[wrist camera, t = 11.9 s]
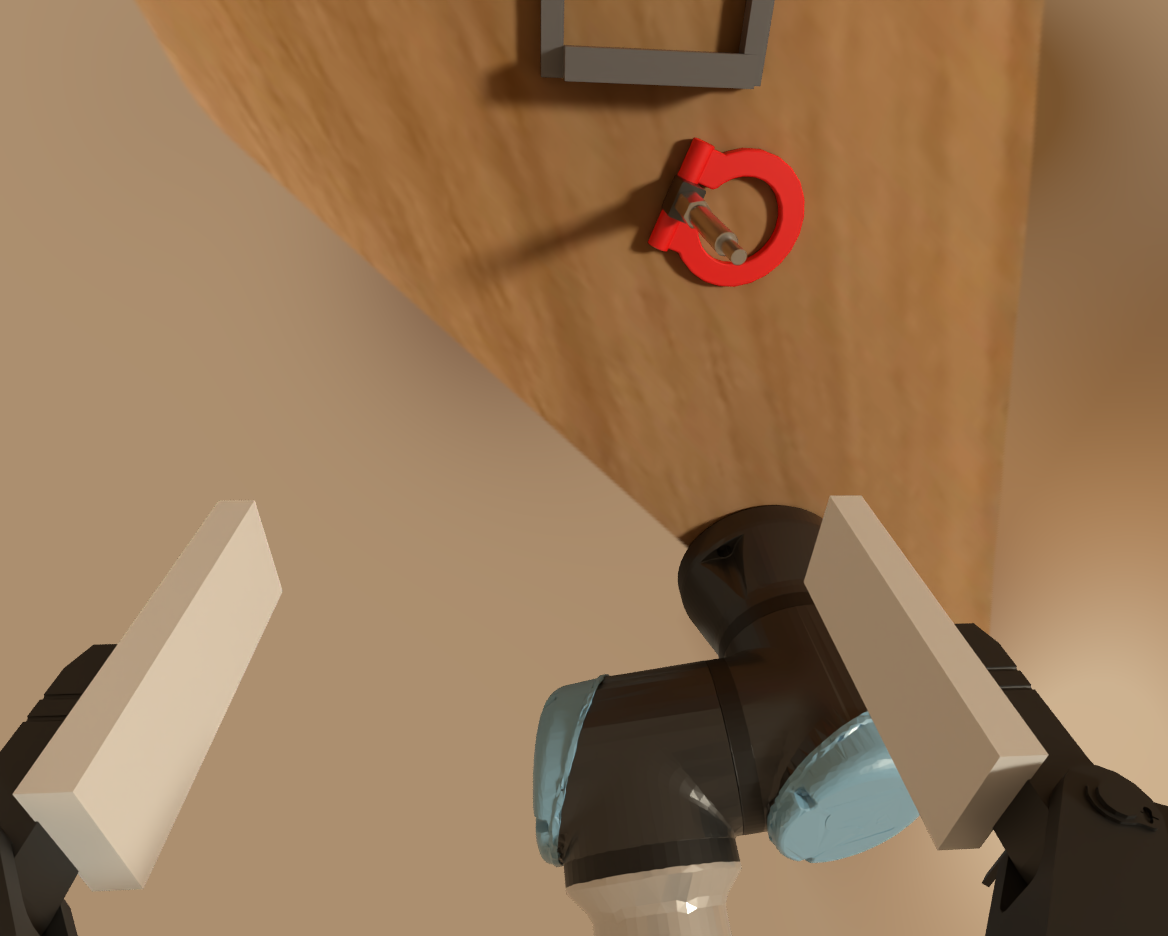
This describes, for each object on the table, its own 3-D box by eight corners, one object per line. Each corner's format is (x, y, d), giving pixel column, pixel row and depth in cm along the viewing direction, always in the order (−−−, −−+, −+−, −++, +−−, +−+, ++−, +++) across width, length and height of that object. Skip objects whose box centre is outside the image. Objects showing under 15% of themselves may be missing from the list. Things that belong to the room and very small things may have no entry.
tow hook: (823, 177, 41) (696, 118, 38) (934, 234, 30) (771, 159, 28) (756, 297, 45) (638, 252, 42) (833, 384, 35) (684, 331, 32)
